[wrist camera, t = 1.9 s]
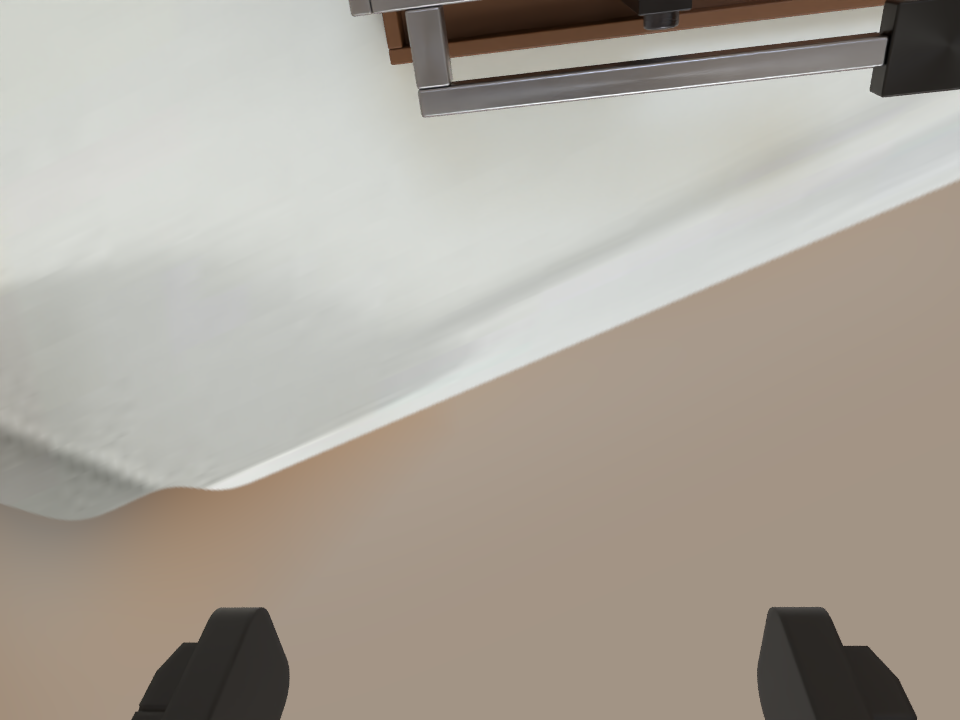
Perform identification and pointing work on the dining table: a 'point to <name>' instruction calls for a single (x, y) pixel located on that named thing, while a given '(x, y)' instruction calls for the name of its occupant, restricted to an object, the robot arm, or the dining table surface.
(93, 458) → the dining table surface
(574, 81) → the fryer basket
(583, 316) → the dining table surface
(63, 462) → the dining table surface
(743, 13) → the tray
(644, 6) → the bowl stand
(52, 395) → the dining table surface
